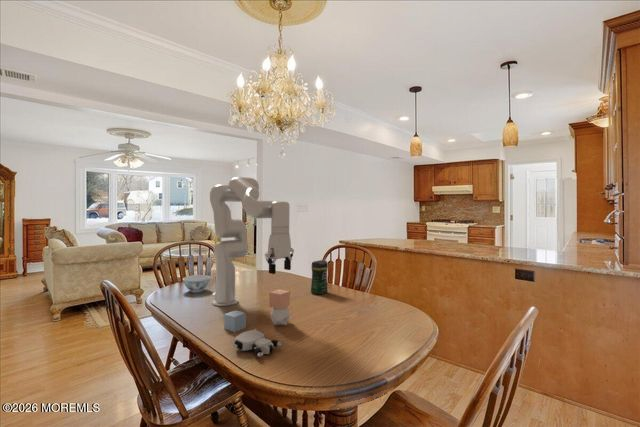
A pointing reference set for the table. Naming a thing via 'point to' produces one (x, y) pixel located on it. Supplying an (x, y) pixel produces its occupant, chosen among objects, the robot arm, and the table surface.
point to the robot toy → (255, 342)
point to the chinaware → (196, 282)
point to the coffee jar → (319, 277)
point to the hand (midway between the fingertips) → (280, 271)
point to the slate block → (234, 320)
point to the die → (280, 316)
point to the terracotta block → (279, 299)
